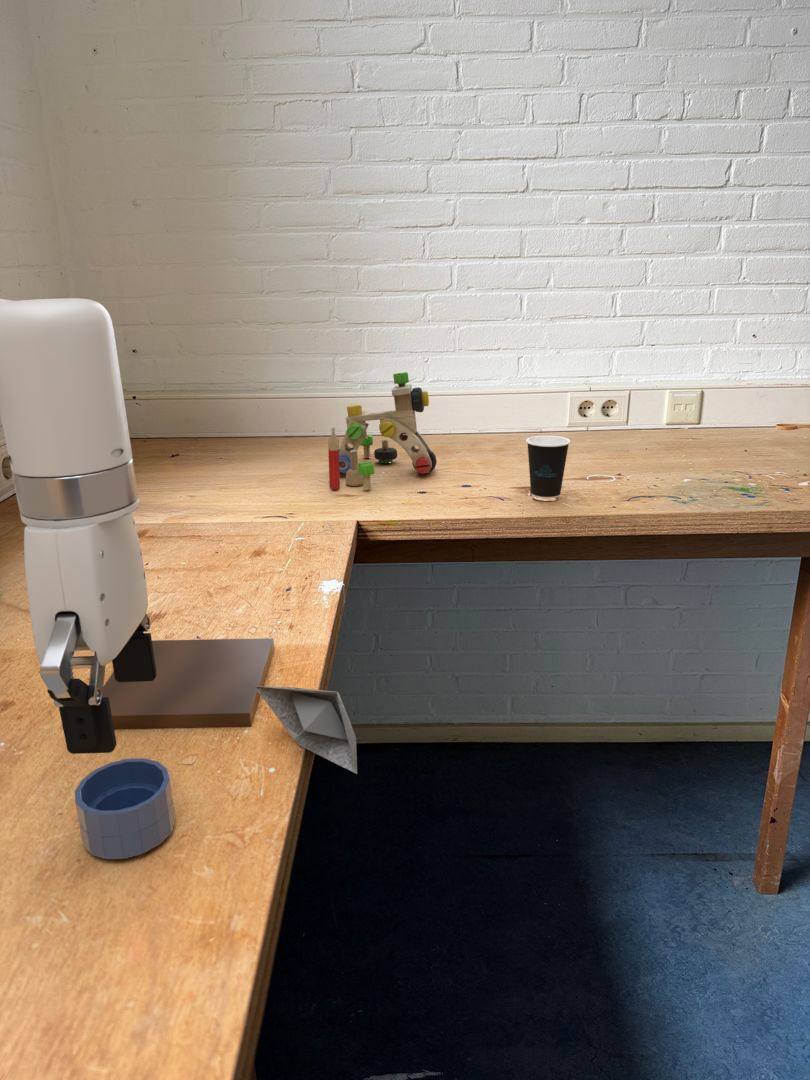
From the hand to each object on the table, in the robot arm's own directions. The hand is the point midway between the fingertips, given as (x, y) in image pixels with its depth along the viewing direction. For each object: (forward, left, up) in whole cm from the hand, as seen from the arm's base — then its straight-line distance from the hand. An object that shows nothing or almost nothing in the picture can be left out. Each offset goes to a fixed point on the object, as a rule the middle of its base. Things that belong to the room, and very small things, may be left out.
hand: (116, 712), depth 59 cm
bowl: (0, 0, -11) cm, 11 cm away
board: (-1, +23, -11) cm, 26 cm away
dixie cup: (+49, +90, -11) cm, 103 cm away
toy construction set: (+17, +108, -11) cm, 110 cm away
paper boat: (+13, +11, -11) cm, 20 cm away
